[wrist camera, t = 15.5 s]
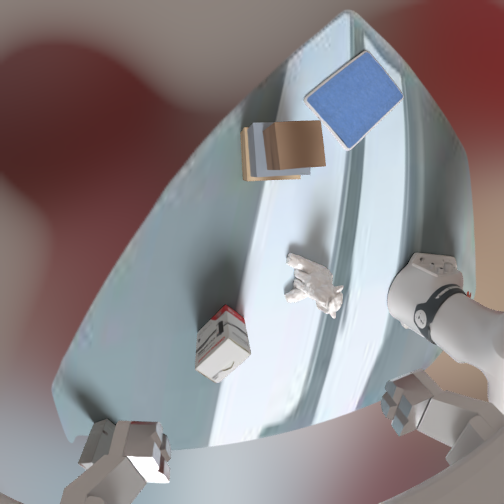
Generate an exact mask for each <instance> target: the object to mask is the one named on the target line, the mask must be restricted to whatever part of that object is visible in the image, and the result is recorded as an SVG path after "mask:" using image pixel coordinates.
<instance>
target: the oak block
mask: <svg viewBox="0 0 504 504" xmlns="http://www.w3.org/2000/svg"><path fill="white" fill-rule="evenodd" d="M248 128H249V127H244V129H243V130H242V131H241V133H240V134H241V153H242V171H243V180H244V181H261V180H284V179H300V175H288V176H270V177H251V175H250V161H249V147H248V134H247V129H248Z"/></svg>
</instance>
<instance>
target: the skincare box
mask: <svg viewBox="0 0 504 504" xmlns="http://www.w3.org/2000/svg"><path fill="white" fill-rule="evenodd" d="M115 427H116V426H115V425H114V424H113V423H112V422H111V421H109V420H108V419H105V420H102V421H99V422H96V423H94V425H93V427H92V429H91V432H90V434H89V437H88V440H87V442H86V444H85V447H84V449H83V452H82V455H81V457H80V460H79V462H78V464H79V465H80V466H82V467H83V468H84V469H86V470H87V469H88V468H90V467H91V466H92V465H93V464H94V463H96V462H97V461H98V460H99V459H100V458H101V457H102V456H104V455H108V454H109V450H110V446H111V442H112V438H113V434H114V431H115Z"/></svg>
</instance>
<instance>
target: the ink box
mask: <svg viewBox="0 0 504 504" xmlns="http://www.w3.org/2000/svg"><path fill="white" fill-rule="evenodd" d="M250 355H251V350H250V345H249V340H248V336H247V330H246V325H245V321H244V318H243V317H242V316H241V315H239V314H238V313H237V312H236V311H234V310H233V309H232V308H230V307H229V306H227V305H224V306H223V307H222V308H221V309H220V310H219V311H218V312H217V313H216V314H215V315H214V316H213V317H212V318H211V319H210V320H209V321H208V322H207V323H206V324H205V325H204V326H203V327H202V328H201V329H200V330H199V332H198V333H197V347H196V361H195V370H197V371H198V372H199V373H201V374H202V375H204V376H205V377H207V378H208V379H210V380H211V381H213V382H215V383H218V382H221V381H222V380H223V379H224V378H225V377H227V376H228V375H229V374H230V373H231V372H232V371H234V370H235V369H236V368H237V367H238V366H239V365H240V364H242V363H243V362H244V361H245V360H246V359H247V358H248V357H249V356H250Z"/></svg>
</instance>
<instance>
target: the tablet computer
mask: <svg viewBox="0 0 504 504" xmlns="http://www.w3.org/2000/svg"><path fill="white" fill-rule="evenodd" d="M403 98H404V96H403V94H402V92H401V91H400V90H399V88H398V87H397V86H396V84H395V83H394V82H393V80H392V79H391V78H390V76H389V75H388V74H387V73H386V71H385V70H384V69H383V68H382V67H381V65H380V64H379V63H378V62H377V61H376V59H375V58H374V57H373V56H372V55H371V54H370V53H369V52H368V51H363V52H362V53H361V54H359V55H358V56H357V57H355V58H354V59H352V60H351V61H350V62H348V63H347V64H346V65H344V66H343V67H342V68H341V69H339V70H338V71H337V72H335V73H334V74H333V75H332V76H330V77H329V78H328V79H326V80H325V81H324V82H322V83H321V84H320V85H319V86H318V87H316V88H315V89H314V90H313V91H312V92H310V93H309V94H308V95H307V96H306V97H305V98H304V103H305V104H306V105H307V106H308V107H309V109H311V110H312V112H313V113H314V114H315V115H316V116H317V117H318V118H319V120H321V122H322V123H323V124H324V125H325V126H326V128H327V129H328V130H329V131H330V132H331V133H332V135H333V136H334V137H335V138H336V139H337V141H338V142H339V143H340V144H341V146H342V147H343V148H344V149H345V150H347V151H349V150H351V149H352V148H353V147H354V146H355V145H356V144H357V143H358V142H359V141H361V140H362V139H363V138H364V137H365V136H366V135H367V134H368V133H369V132H370V131H371V130H372V129H373V128H374V127H375V126H376V125H377V124H378V123H379V122H380V121H381V120H382V119H383V118H384V117H385V116H386V115H388V114H389V113H390V112H391V111H392V110H393V109H394V108H395V107H396V106H397V105H398V104H399V103H400V102H401V101H402V100H403Z"/></svg>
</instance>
